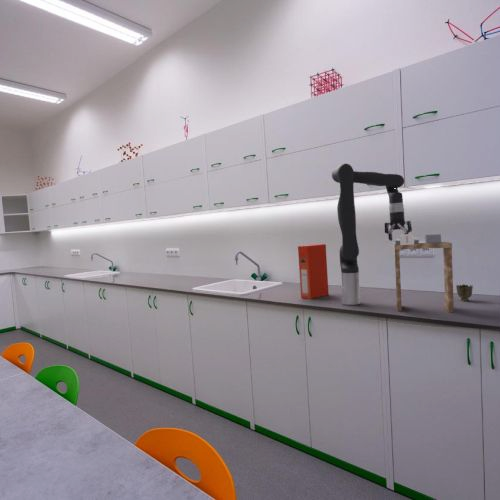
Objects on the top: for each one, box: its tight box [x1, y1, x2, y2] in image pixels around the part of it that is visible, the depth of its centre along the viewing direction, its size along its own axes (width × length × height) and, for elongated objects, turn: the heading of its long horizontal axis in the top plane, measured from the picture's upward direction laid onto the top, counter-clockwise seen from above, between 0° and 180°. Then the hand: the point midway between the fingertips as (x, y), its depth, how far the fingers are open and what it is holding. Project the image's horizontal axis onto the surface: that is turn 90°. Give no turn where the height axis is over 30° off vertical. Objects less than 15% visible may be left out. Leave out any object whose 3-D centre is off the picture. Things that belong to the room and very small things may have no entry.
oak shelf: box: [394, 241, 455, 314], centre depth 173 cm, size 24×13×32 cm, turn 68°
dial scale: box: [394, 233, 420, 245], centre depth 174 cm, size 10×13×5 cm
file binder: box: [297, 243, 330, 300], centre depth 222 cm, size 8×17×32 cm, turn 131°
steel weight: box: [424, 233, 442, 244], centre depth 175 cm, size 6×20×4 cm, turn 158°
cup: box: [455, 284, 474, 302], centre depth 186 cm, size 8×7×8 cm
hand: (398, 240), depth 200 cm, fingers open, 8 cm apart
